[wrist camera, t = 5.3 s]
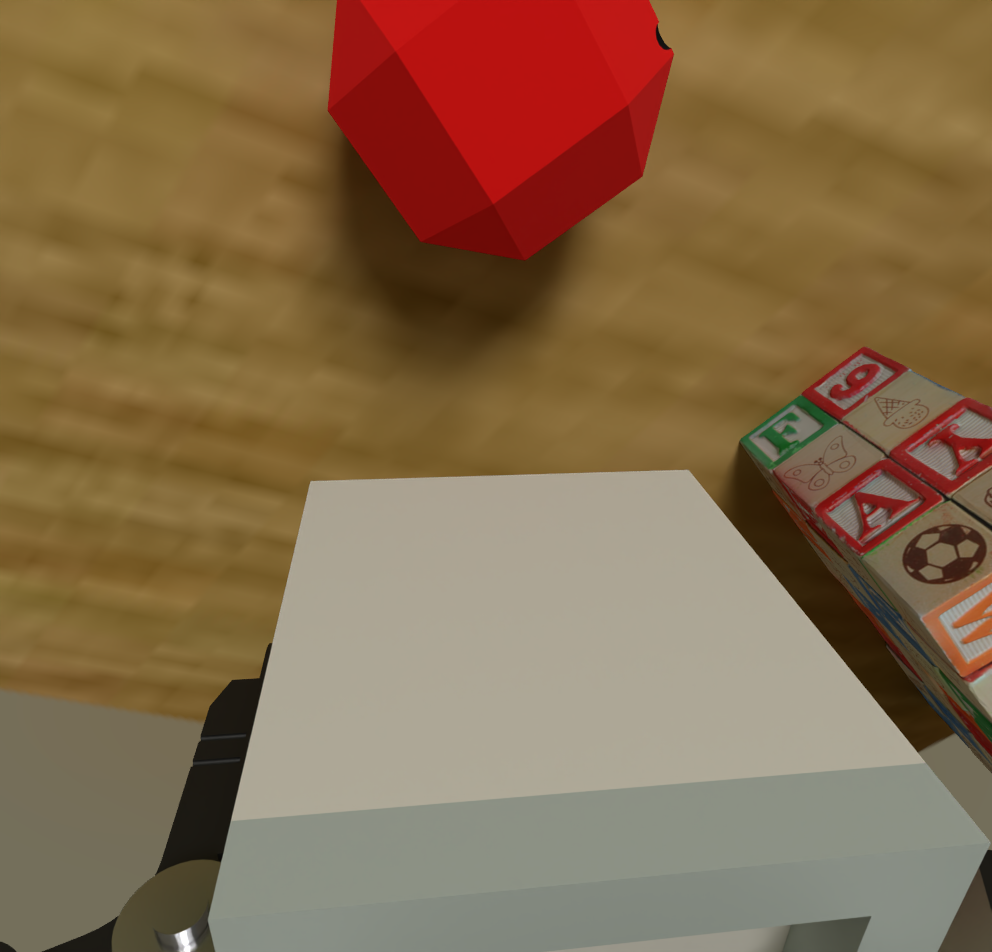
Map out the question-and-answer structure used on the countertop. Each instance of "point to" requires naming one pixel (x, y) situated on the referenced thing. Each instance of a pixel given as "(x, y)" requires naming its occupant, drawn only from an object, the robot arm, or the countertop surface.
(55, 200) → the countertop surface
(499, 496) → the socket block
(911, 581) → the stack of blocks
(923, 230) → the countertop surface
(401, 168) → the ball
